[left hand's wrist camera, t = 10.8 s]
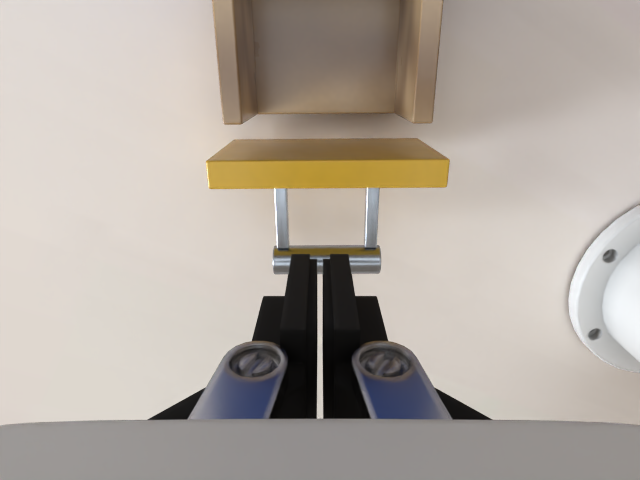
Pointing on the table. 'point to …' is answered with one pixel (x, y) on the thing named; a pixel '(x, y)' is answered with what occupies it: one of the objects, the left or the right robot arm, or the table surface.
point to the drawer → (327, 103)
